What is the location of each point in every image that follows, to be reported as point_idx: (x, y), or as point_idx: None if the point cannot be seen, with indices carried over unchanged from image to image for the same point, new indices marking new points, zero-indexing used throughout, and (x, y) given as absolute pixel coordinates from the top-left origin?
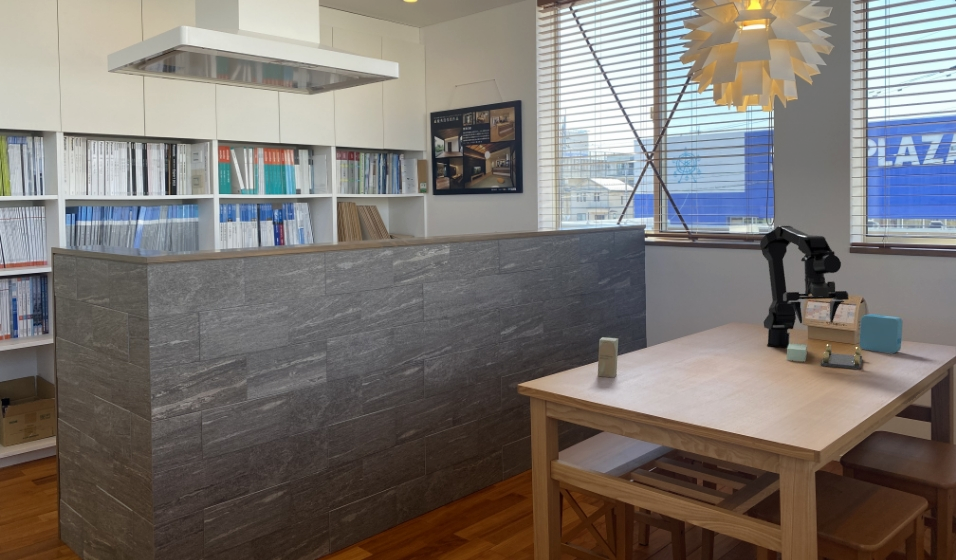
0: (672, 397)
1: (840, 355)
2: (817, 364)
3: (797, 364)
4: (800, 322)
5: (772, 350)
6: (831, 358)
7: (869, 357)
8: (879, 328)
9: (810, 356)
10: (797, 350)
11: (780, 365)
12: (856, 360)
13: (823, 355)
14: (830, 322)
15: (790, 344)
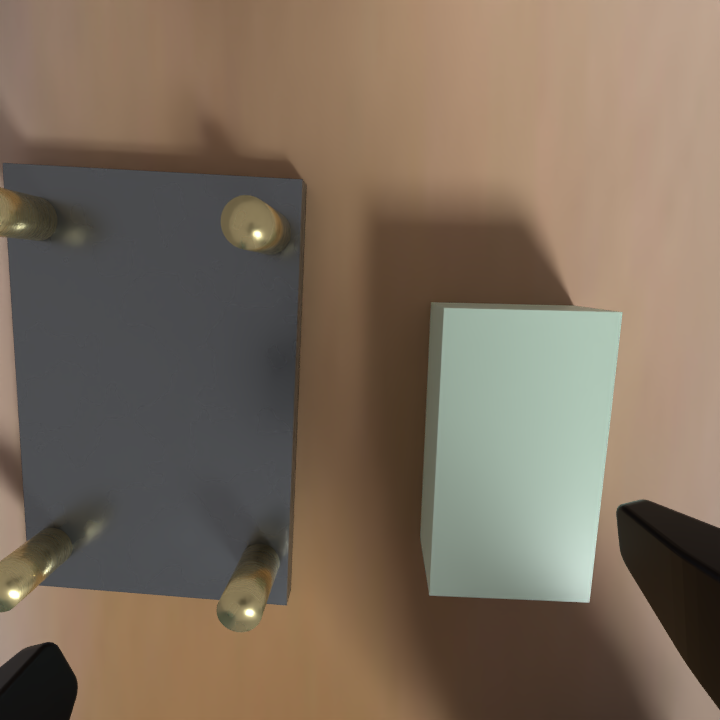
0: None
1: (174, 542)
2: (335, 231)
3: (489, 155)
4: (653, 516)
5: None
6: (232, 396)
7: (5, 645)
8: None
9: (391, 520)
10: (517, 310)
11: (631, 41)
12: (4, 188)
13: (277, 216)
14: (72, 677)
15: (580, 545)
